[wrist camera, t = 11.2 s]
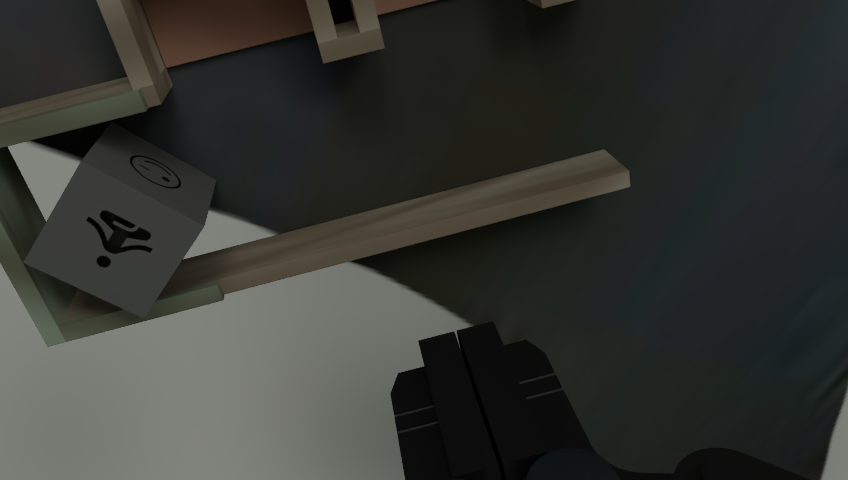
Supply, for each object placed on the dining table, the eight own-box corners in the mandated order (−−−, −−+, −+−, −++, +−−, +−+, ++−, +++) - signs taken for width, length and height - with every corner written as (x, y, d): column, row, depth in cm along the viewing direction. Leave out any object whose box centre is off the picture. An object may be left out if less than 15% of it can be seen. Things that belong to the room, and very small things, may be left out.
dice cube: (216, 179, 33) (204, 225, 29) (163, 262, 34) (144, 318, 30) (111, 121, 31) (81, 160, 27) (60, 210, 33) (22, 262, 28)
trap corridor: (-95, -7, 28) (-144, 7, 25) (572, -168, 29) (605, -174, 26) (70, 305, 35) (47, 346, 31) (605, 163, 36) (634, 190, 33)
